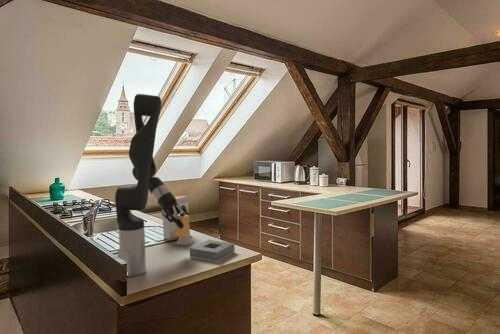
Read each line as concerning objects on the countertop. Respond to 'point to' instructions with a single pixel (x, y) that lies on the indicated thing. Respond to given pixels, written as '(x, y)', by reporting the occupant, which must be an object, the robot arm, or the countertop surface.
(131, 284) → the countertop surface
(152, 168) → the robot arm
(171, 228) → the cracker box
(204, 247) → the socket block
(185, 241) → the flask
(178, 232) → the plug
